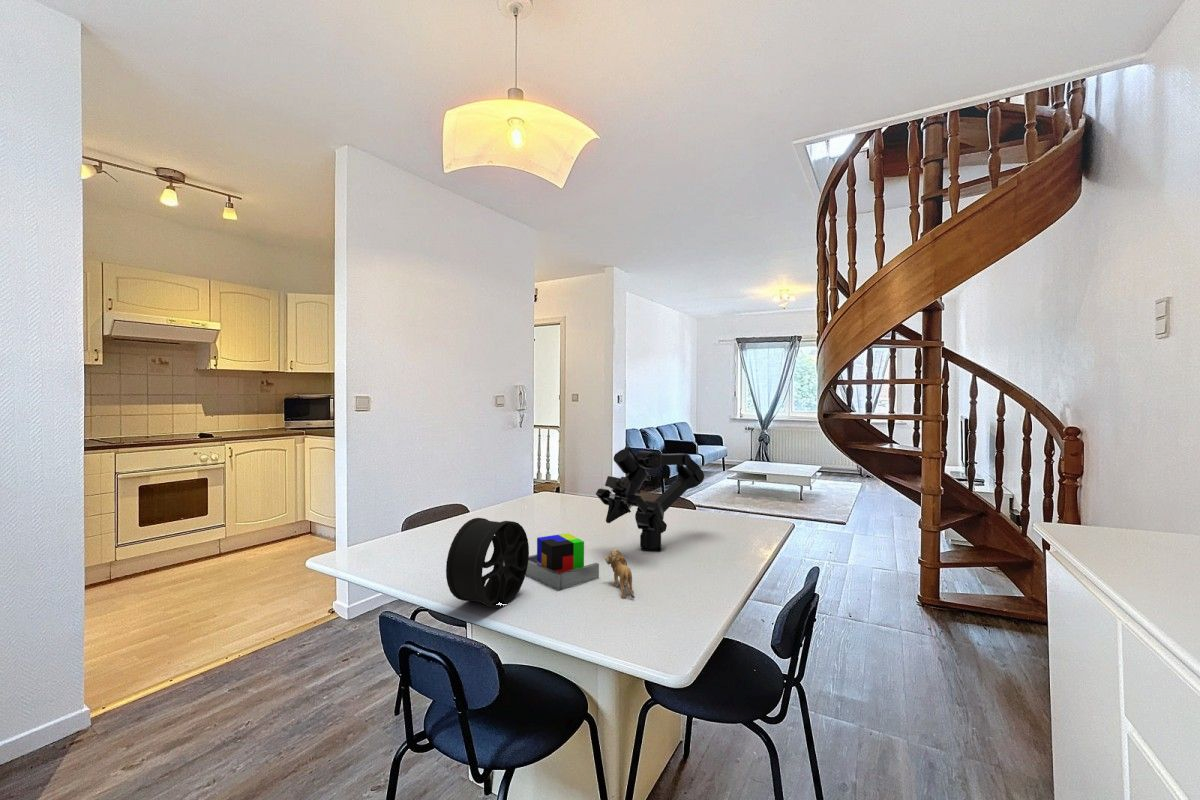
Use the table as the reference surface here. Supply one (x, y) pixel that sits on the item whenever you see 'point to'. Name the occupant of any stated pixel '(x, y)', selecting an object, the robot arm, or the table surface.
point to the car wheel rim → (470, 561)
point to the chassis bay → (561, 574)
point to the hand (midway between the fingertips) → (607, 522)
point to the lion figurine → (620, 571)
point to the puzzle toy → (560, 552)
